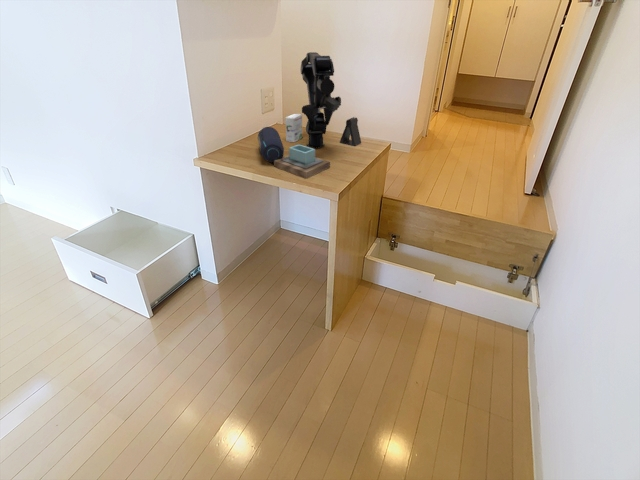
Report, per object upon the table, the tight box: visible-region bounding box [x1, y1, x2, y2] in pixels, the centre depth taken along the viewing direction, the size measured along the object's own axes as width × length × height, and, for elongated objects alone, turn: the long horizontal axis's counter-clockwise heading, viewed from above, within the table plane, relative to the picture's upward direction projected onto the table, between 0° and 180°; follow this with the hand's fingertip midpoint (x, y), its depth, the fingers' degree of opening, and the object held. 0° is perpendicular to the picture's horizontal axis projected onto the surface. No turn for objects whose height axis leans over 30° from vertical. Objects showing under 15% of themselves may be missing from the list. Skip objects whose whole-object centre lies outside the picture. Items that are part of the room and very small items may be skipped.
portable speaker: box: [257, 126, 285, 163], centre depth 157 cm, size 25×10×10 cm, turn 12°
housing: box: [288, 144, 316, 165], centre depth 147 cm, size 6×10×5 cm, turn 51°
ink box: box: [285, 113, 303, 143], centre depth 176 cm, size 8×5×12 cm, turn 153°
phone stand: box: [339, 116, 362, 147], centre depth 173 cm, size 9×6×12 cm, turn 55°
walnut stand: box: [273, 154, 331, 179], centre depth 149 cm, size 18×15×3 cm
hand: (320, 127), depth 157 cm, fingers open, 9 cm apart
